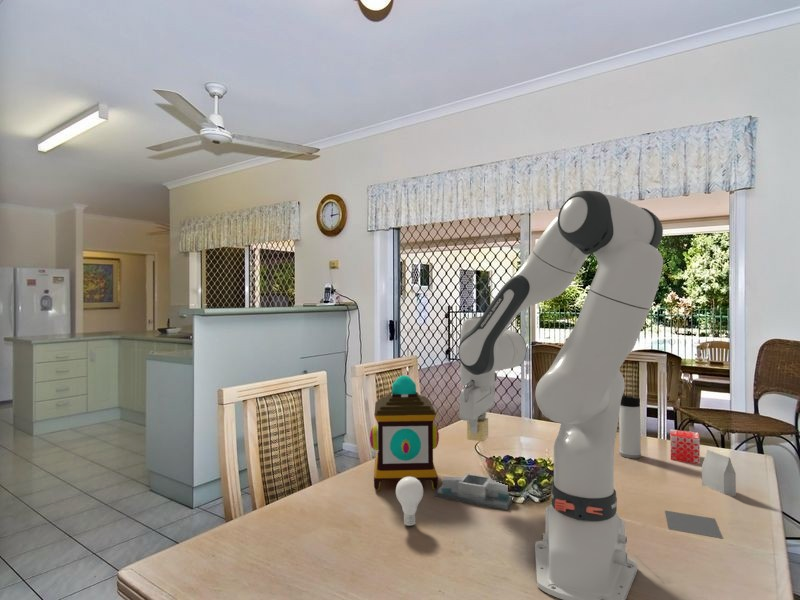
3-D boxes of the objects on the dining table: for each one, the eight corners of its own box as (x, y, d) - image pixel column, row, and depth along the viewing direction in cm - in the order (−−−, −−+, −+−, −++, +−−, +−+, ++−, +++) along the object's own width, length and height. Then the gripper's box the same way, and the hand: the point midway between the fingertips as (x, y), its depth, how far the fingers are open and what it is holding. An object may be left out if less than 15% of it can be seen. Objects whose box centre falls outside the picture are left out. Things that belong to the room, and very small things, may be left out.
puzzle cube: (699, 463, 145) (699, 438, 145) (670, 459, 149) (670, 435, 149) (698, 456, 152) (697, 432, 152) (670, 452, 156) (670, 429, 156)
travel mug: (614, 454, 154) (613, 394, 154) (628, 451, 157) (627, 392, 157) (631, 460, 148) (630, 397, 148) (645, 457, 151) (644, 395, 151)
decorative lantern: (369, 493, 124) (368, 381, 124) (371, 467, 144) (370, 370, 144) (443, 492, 124) (442, 380, 125) (435, 466, 144) (434, 369, 144)
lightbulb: (400, 534, 102) (399, 484, 102) (392, 521, 108) (392, 473, 108) (427, 530, 104) (427, 481, 104) (418, 517, 110) (418, 471, 110)
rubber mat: (723, 542, 97) (723, 538, 97) (668, 532, 102) (668, 528, 102) (714, 522, 106) (714, 518, 106) (664, 513, 111) (664, 510, 111)
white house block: (724, 497, 120) (723, 458, 120) (702, 487, 127) (701, 450, 127) (735, 496, 121) (735, 457, 121) (713, 485, 127) (713, 449, 127)
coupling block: (483, 441, 119) (483, 418, 119) (467, 439, 121) (467, 416, 121) (488, 437, 123) (488, 414, 123) (472, 435, 125) (472, 412, 125)
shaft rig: (507, 510, 113) (507, 492, 113) (434, 496, 121) (434, 480, 121) (515, 495, 122) (515, 478, 122) (447, 483, 130) (447, 467, 130)
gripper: (477, 385, 111) (478, 442, 111) (498, 373, 130) (498, 422, 130) (452, 383, 114) (453, 439, 114) (476, 371, 133) (477, 420, 132)
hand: (477, 430), depth 122 cm, fingers closed on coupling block, 4 cm apart
